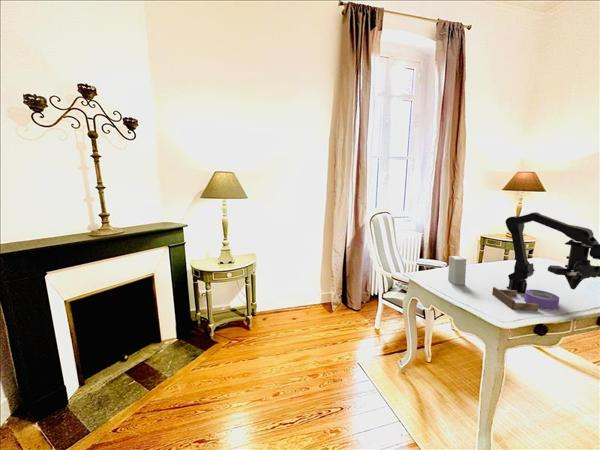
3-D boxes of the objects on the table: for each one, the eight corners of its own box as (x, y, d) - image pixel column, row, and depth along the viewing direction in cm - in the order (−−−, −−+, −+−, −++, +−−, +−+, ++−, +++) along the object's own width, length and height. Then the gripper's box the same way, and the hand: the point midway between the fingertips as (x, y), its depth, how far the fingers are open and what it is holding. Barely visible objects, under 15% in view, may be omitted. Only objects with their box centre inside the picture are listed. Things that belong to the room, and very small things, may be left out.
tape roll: (546, 312, 115) (547, 301, 115) (517, 300, 126) (519, 291, 126) (564, 308, 119) (566, 297, 118) (535, 297, 130) (536, 288, 129)
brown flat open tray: (511, 309, 118) (512, 300, 117) (492, 294, 133) (493, 287, 132) (538, 311, 116) (539, 302, 115) (515, 296, 131) (516, 288, 131)
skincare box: (465, 285, 145) (467, 259, 143) (453, 285, 146) (456, 259, 144) (457, 279, 154) (459, 255, 151) (446, 279, 154) (449, 255, 152)
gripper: (569, 260, 111) (563, 294, 113) (621, 262, 107) (614, 298, 110) (549, 253, 121) (544, 285, 124) (596, 255, 118) (590, 287, 121)
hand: (572, 289), depth 119 cm, fingers closed
